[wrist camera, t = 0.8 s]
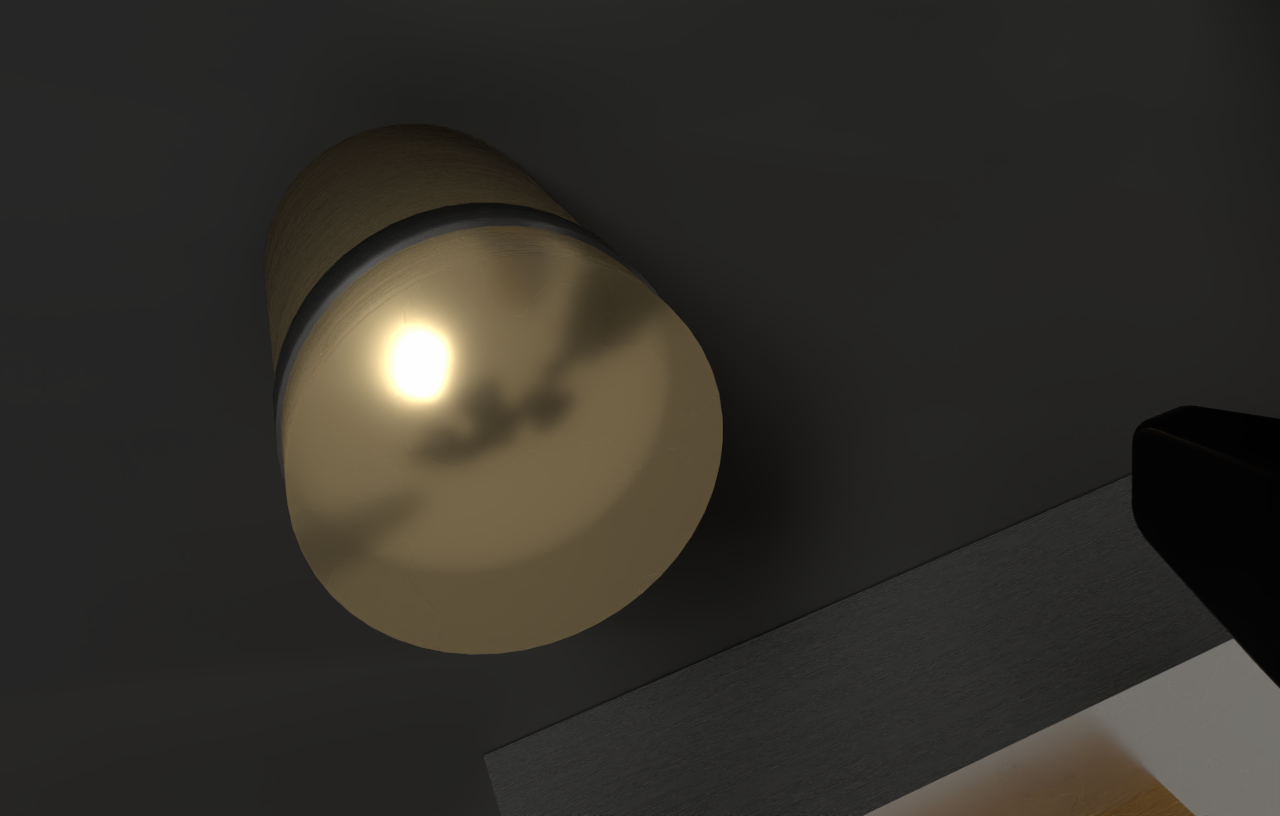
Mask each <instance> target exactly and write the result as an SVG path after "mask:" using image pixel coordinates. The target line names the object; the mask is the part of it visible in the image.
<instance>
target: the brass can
mask: <svg viewBox="0 0 1280 816" xmlns="http://www.w3.org/2000/svg"><path fill="white" fill-rule="evenodd" d="M264 269H265V285H266V295H267V305H268V315H269V325H270V335H271V345H272V355H273V365H274V375H275V382H274V393H273V404H274V421H275V432H276V443H277V454H278V458H279V463H280V468H281V472H282V477H283V480H284V483H285V486H286V494H287V503H288V508H289V513H290V517H291V522H292V526H293V530H294V533H295V535H296V538H297V540H298V543H299V546H300V548H301V551H302V553H303V555H304V557H305V558H306V560H307V562H308V564H309V565H310V567H311V569H312V570H313V572H314V574H315V576H316V577H317V578H318V579H319V581H320V582H321V583H322V584H323V585H324V587H325V588H326V589H327V590H328V592H329V593H330V594H331V595H332V596H333V597H334V598H335V599H336V600H337V601H338V602H339V603H340V604H342V605H343V606H344V607H345V608H346V609H347V610H348V611H349V612H350V613H352V614H353V615H355V616H356V617H358V618H359V619H361V620H362V621H363V622H365V623H366V624H368V625H369V626H371V627H373V628H375V629H377V630H379V631H381V632H383V633H385V634H387V635H389V636H391V637H393V638H395V639H398V640H401V641H404V642H407V643H410V644H413V645H415V646H418V647H423V648H427V649H432V650H437V651H442V652H449V653H461V654H498V653H506V652H513V651H520V650H526V649H530V648H534V647H538V646H542V645H546V644H550V643H553V642H556V641H558V640H561V639H564V638H567V637H569V636H572V635H575V634H577V633H579V632H581V631H583V630H585V629H587V628H590V627H592V626H594V625H596V624H598V623H600V622H601V621H603V620H605V619H606V618H608V617H609V616H611V615H613V614H614V613H616V612H618V611H619V610H621V609H622V608H624V607H625V606H626V605H628V604H629V603H630V602H631V601H633V600H634V599H635V598H637V597H638V596H639V595H641V594H642V593H643V592H644V591H645V590H646V589H647V588H648V587H649V586H651V585H652V584H653V583H654V582H655V581H656V580H657V579H658V578H659V577H660V576H661V575H662V574H663V573H664V572H665V570H666V569H667V568H668V567H669V566H670V565H671V564H672V562H673V561H674V560H675V559H676V558H677V557H678V555H679V554H680V552H681V551H682V549H683V548H684V547H685V545H686V544H687V542H688V541H689V539H690V538H691V536H692V535H693V533H694V531H695V529H696V527H697V526H698V524H699V522H700V520H701V518H702V516H703V514H704V512H705V510H706V507H707V505H708V502H709V500H710V497H711V495H712V492H713V489H714V485H715V482H716V478H717V474H718V470H719V466H720V458H721V451H722V443H723V423H722V411H721V404H720V397H719V392H718V388H717V385H716V382H715V378H714V375H713V372H712V369H711V367H710V365H709V363H708V360H707V358H706V356H705V354H704V352H703V350H702V348H701V346H700V345H699V343H698V342H697V340H696V339H695V337H694V336H693V334H692V333H691V331H690V330H689V328H688V327H687V325H686V324H685V323H684V322H683V321H682V320H681V319H680V318H679V317H678V316H677V314H676V313H675V312H674V311H673V310H672V309H671V308H670V307H669V306H668V305H667V304H666V303H665V302H664V301H663V300H661V298H660V297H659V295H658V294H657V292H656V291H655V290H654V289H653V287H652V286H651V285H650V284H649V283H648V282H647V281H646V280H645V279H644V278H643V276H642V275H641V274H640V273H639V272H638V271H637V270H636V269H635V268H633V267H632V266H631V265H630V264H629V263H628V262H627V261H626V260H625V259H624V258H622V257H621V256H620V255H619V254H618V253H617V252H616V251H615V250H613V249H612V248H611V247H610V246H609V245H607V244H606V243H605V242H604V241H602V240H601V239H600V238H599V237H598V236H596V235H594V234H593V233H591V232H589V231H588V230H586V229H585V228H584V227H583V226H581V225H580V224H579V223H578V222H577V221H576V220H575V219H574V218H573V217H572V216H571V215H570V214H568V213H567V212H566V211H565V210H564V209H563V208H562V207H561V206H560V205H559V204H558V203H557V202H556V201H554V200H553V199H552V198H551V197H550V196H549V195H548V194H547V193H546V192H545V191H544V190H543V189H541V188H540V187H539V186H538V185H537V184H536V183H535V182H534V181H533V180H532V179H531V178H530V177H528V176H527V175H526V174H525V173H524V172H523V171H522V170H521V169H520V168H519V167H518V166H517V165H516V164H514V163H513V162H512V161H511V160H510V159H508V158H507V157H506V156H505V155H504V154H502V153H501V152H500V151H498V150H497V149H495V148H494V147H492V146H490V145H489V144H487V143H486V142H484V141H482V140H480V139H477V138H475V137H473V136H471V135H469V134H466V133H463V132H460V131H457V130H453V129H450V128H447V127H440V126H434V125H428V124H400V125H391V126H384V127H380V128H376V129H372V130H368V131H365V132H362V133H360V134H357V135H355V136H352V137H349V138H347V139H345V140H344V141H342V142H340V143H338V144H336V145H335V146H333V147H331V148H329V149H328V150H327V151H325V152H324V153H323V154H321V155H320V156H319V157H317V158H316V159H315V160H313V161H312V162H311V163H310V164H309V165H308V166H307V167H306V168H305V169H304V170H303V171H302V172H301V173H300V174H299V175H298V177H297V178H296V179H295V181H294V182H293V183H292V184H291V186H290V187H289V188H288V190H287V191H286V193H285V195H284V197H283V198H282V200H281V202H280V204H279V205H278V207H277V210H276V212H275V215H274V217H273V220H272V222H271V225H270V229H269V233H268V237H267V242H266V248H265V260H264Z"/></svg>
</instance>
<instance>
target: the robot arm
mask: <svg viewBox="0 0 1280 816" xmlns="http://www.w3.org/2000/svg"><path fill="white" fill-rule="evenodd" d="M1132 512H1133V516H1134V520H1135V522H1136V524H1137V527H1138V529H1139V530H1140V532H1141V534H1142V535H1143V537H1144V538H1145V539H1146V541H1147V542H1148V543H1149V544H1150V545H1151V546H1152V547H1153V549H1154V550H1155V551H1156V552H1157V553H1158V554H1159V555H1160V556H1161V558H1162V559H1163V560H1164V561H1165V562H1166V563H1167V564H1168V565H1169V567H1170V568H1171V569H1172V570H1173V571H1174V572H1175V573H1176V574H1177V576H1178V577H1179V578H1180V579H1181V580H1182V581H1183V582H1184V583H1185V585H1186V586H1187V587H1188V588H1189V589H1190V590H1191V591H1192V593H1193V594H1194V595H1195V596H1196V597H1197V598H1198V599H1199V600H1200V602H1201V603H1202V604H1203V605H1204V606H1205V607H1206V608H1207V609H1208V611H1209V612H1210V613H1211V614H1212V615H1213V616H1214V617H1215V618H1216V620H1217V621H1218V622H1219V623H1220V624H1221V625H1222V626H1223V627H1224V629H1225V630H1226V631H1227V632H1228V633H1229V634H1230V635H1231V636H1232V638H1233V639H1234V640H1235V641H1236V642H1237V643H1238V644H1239V645H1240V647H1241V648H1242V649H1243V650H1244V651H1245V652H1246V653H1247V654H1248V656H1249V657H1250V658H1251V659H1252V660H1253V661H1254V662H1255V663H1256V664H1257V665H1258V666H1259V668H1260V669H1261V670H1262V671H1263V672H1264V673H1265V674H1266V675H1267V676H1268V677H1269V678H1270V679H1271V680H1272V681H1273V682H1274V683H1275V684H1276V685H1277V686H1278V687H1279V688H1280V419H1277V418H1271V417H1264V416H1258V415H1251V414H1245V413H1238V412H1231V411H1225V410H1218V409H1212V408H1205V407H1199V406H1190V405H1189V406H1181V407H1178V408H1175V409H1172V410H1170V411H1167V412H1165V413H1162V414H1160V415H1157V416H1155V417H1152V418H1150V419H1147V420H1145V421H1144V422H1142V423H1141V424H1140V425H1139V426H1138V427H1137V429H1136V431H1135V433H1134V435H1133V441H1132Z"/></svg>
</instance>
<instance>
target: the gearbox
mask: <svg viewBox="0 0 1280 816" xmlns="http://www.w3.org/2000/svg"><path fill="white" fill-rule="evenodd" d="M484 759H485V762H486V766H487V769H488V772H489V776H490V779H491V782H492V786H493V789H494V793H495V796H496V799H497V803H498V806H499V809H500V813H501V816H1280V688H1279V687H1278V686H1277V685H1276V684H1275V683H1274V682H1273V681H1272V680H1271V679H1270V678H1269V677H1268V676H1267V675H1266V674H1265V673H1264V672H1263V671H1262V670H1261V669H1260V668H1259V666H1258V665H1257V664H1256V663H1255V662H1254V661H1253V660H1252V659H1251V658H1250V657H1249V656H1248V654H1247V653H1246V652H1245V651H1244V650H1243V649H1242V648H1241V647H1240V645H1239V644H1238V643H1237V642H1236V641H1235V640H1234V639H1233V638H1232V636H1231V635H1230V634H1229V633H1228V632H1227V631H1226V630H1225V629H1224V627H1223V626H1222V625H1221V624H1220V623H1219V622H1218V621H1217V620H1216V618H1215V617H1214V616H1213V615H1212V614H1211V613H1210V612H1209V611H1208V609H1207V608H1206V607H1205V606H1204V605H1203V604H1202V603H1201V602H1200V600H1199V599H1198V598H1197V597H1196V596H1195V595H1194V594H1193V593H1192V591H1191V590H1190V589H1189V588H1188V587H1187V586H1186V585H1185V583H1184V582H1183V581H1182V580H1181V579H1180V578H1179V577H1178V576H1177V574H1176V573H1175V572H1174V571H1173V570H1172V569H1171V568H1170V567H1169V565H1168V564H1167V563H1166V562H1165V561H1164V560H1163V559H1162V558H1161V556H1160V555H1159V554H1158V553H1157V552H1156V551H1155V550H1154V549H1153V547H1152V546H1151V545H1150V544H1149V543H1148V542H1147V541H1146V539H1145V538H1144V537H1143V535H1142V534H1141V532H1140V530H1139V529H1138V527H1137V524H1136V522H1135V520H1134V516H1133V512H1132V475H1130V476H1127V477H1125V478H1123V479H1120V480H1118V481H1116V482H1113V483H1111V484H1109V485H1106V486H1104V487H1102V488H1100V489H1097V490H1095V491H1093V492H1090V493H1088V494H1086V495H1083V496H1081V497H1079V498H1077V499H1074V500H1072V501H1070V502H1067V503H1065V504H1063V505H1060V506H1058V507H1056V508H1053V509H1051V510H1049V511H1047V512H1044V513H1042V514H1040V515H1037V516H1035V517H1033V518H1030V519H1028V520H1026V521H1023V522H1021V523H1019V524H1017V525H1014V526H1012V527H1010V528H1007V529H1005V530H1003V531H1000V532H998V533H996V534H994V535H991V536H989V537H987V538H984V539H982V540H980V541H977V542H975V543H973V544H970V545H968V546H966V547H964V548H961V549H959V550H957V551H954V552H952V553H950V554H947V555H945V556H943V557H940V558H938V559H936V560H934V561H931V562H929V563H927V564H924V565H922V566H920V567H917V568H915V569H913V570H911V571H908V572H906V573H904V574H901V575H899V576H897V577H894V578H892V579H890V580H887V581H885V582H883V583H881V584H878V585H876V586H874V587H871V588H869V589H867V590H864V591H862V592H860V593H857V594H855V595H853V596H851V597H848V598H846V599H844V600H841V601H839V602H837V603H834V604H832V605H830V606H828V607H825V608H823V609H821V610H818V611H816V612H814V613H811V614H809V615H807V616H804V617H802V618H800V619H798V620H795V621H793V622H791V623H788V624H786V625H784V626H781V627H779V628H777V629H775V630H772V631H770V632H768V633H765V634H763V635H761V636H758V637H756V638H754V639H751V640H749V641H747V642H745V643H742V644H740V645H738V646H735V647H733V648H731V649H728V650H726V651H724V652H721V653H719V654H717V655H715V656H712V657H710V658H708V659H705V660H703V661H701V662H698V663H696V664H694V665H692V666H689V667H687V668H685V669H682V670H680V671H678V672H675V673H673V674H671V675H668V676H666V677H664V678H662V679H659V680H657V681H655V682H652V683H650V684H648V685H645V686H643V687H641V688H638V689H636V690H634V691H632V692H629V693H627V694H625V695H622V696H620V697H618V698H615V699H613V700H611V701H609V702H606V703H604V704H602V705H599V706H597V707H595V708H592V709H590V710H588V711H585V712H583V713H581V714H579V715H576V716H574V717H572V718H569V719H567V720H565V721H562V722H560V723H558V724H555V725H553V726H551V727H549V728H546V729H544V730H542V731H539V732H537V733H535V734H532V735H530V736H528V737H526V738H523V739H521V740H519V741H516V742H514V743H512V744H509V745H507V746H505V747H502V748H500V749H498V750H496V751H493V752H491V753H489V754H486V755H484Z"/></svg>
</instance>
